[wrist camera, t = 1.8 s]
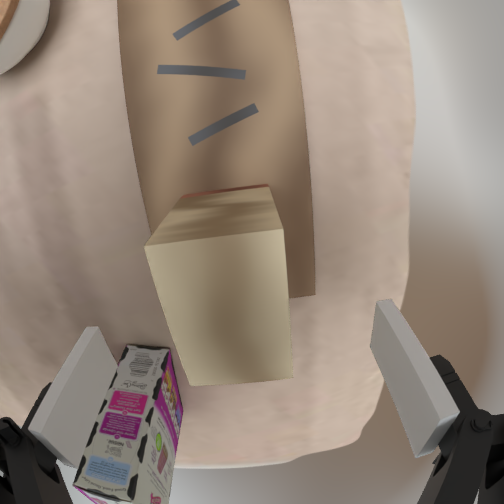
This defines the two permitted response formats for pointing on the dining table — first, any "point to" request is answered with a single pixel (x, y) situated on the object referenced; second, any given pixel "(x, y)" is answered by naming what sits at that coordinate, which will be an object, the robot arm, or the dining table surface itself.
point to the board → (219, 110)
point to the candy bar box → (134, 433)
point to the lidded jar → (20, 29)
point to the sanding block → (225, 286)
